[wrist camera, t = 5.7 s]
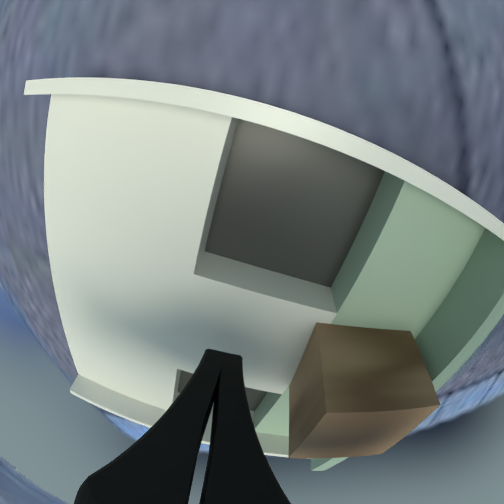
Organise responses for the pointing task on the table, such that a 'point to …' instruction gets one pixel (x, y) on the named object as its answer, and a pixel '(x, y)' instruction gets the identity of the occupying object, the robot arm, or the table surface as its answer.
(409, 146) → the table surface
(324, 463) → the board
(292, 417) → the walnut block
